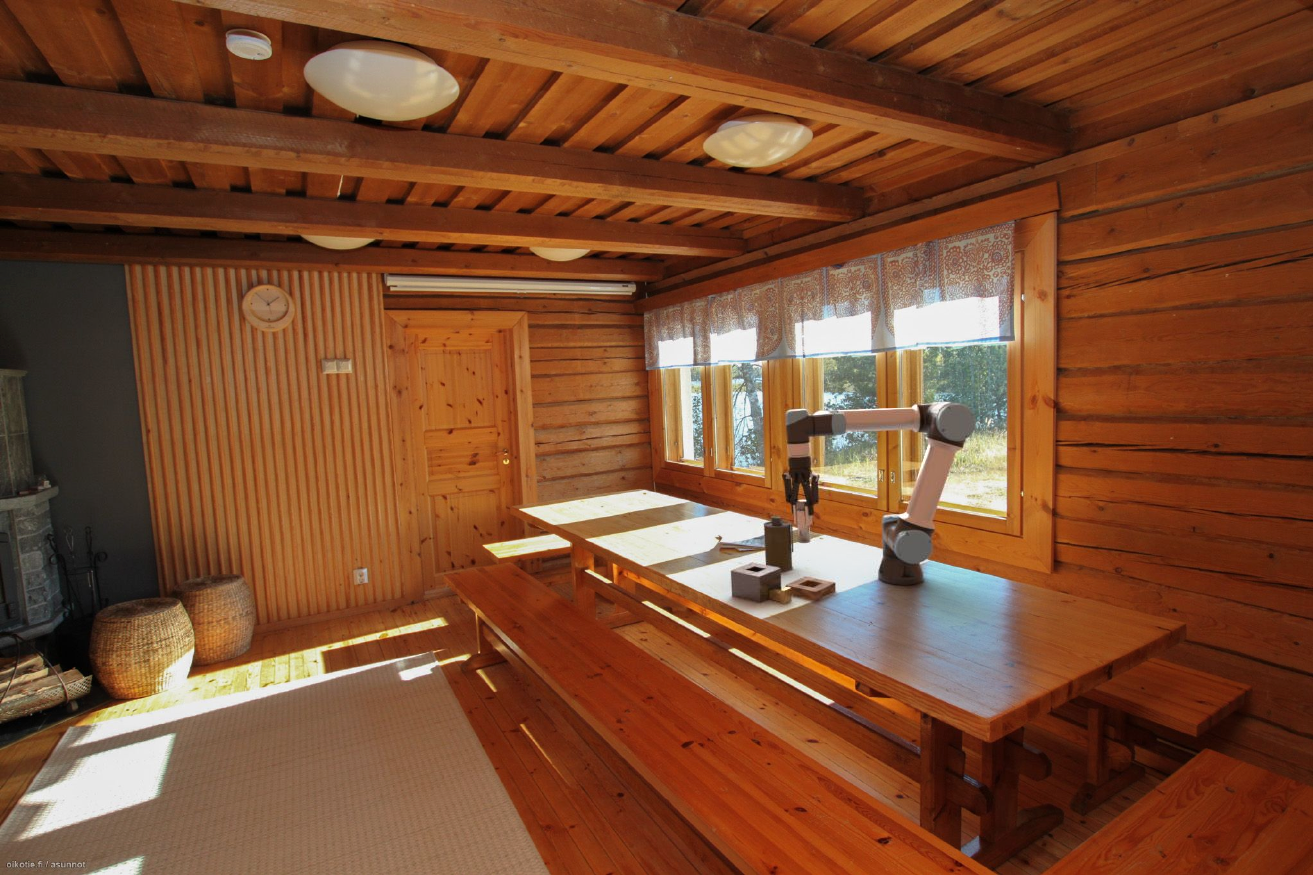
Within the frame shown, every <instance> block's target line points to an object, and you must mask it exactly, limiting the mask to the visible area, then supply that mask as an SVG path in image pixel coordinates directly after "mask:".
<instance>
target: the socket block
mask: <svg viewBox="0 0 1313 875" xmlns="http://www.w3.org/2000/svg"><path fill="white" fill-rule="evenodd" d="M730 581H731V582H730V584H731V586H730V587H731V597H733V598H738V599H742V600H744V601H745V600H746V601H749V602H753V603H758V604H761V603H762V604H763V603H764V602H767V601H768V600H769V599H768V589H770V588H773V589H777V590H781V589H782V572H781V568H778V567H773V566H768V565H766V564H761V563H758V562H750V563H748V564H744V565H742V566H739V567H737V568H734V569H732V570H730Z"/></svg>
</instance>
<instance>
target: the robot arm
mask: <svg viewBox="0 0 1313 875" xmlns="http://www.w3.org/2000/svg"><path fill="white" fill-rule="evenodd" d="M975 428H976V417H975V415H974V412H972V410H971V409H970V408H969V407H967V406H965V405H964V404H962V403H956V402H950V401H938V402H932V403H923V404H914V405H913V406H912V407H901V408H900V407H897V408H894V407H893V408H874V409H873V408H872V409H871V408H870V409H869V408H868V409H866V408H865V409H841V410H838V409H837V410H825V409H821V410H817V411H816V412H814V413H813V414H810V413H809V410H808V409H806V408H798V409H789V410H787V411H786V412H785V433H786V434H785V435H786V448H787V455H788V457H787V463H788V465H787V466H788V468H789V469H788V472H786V473H782V475H781V478H782V479H783V484H784V495H785V503H789V504H790V505H791V513H792V515H793V524H794V525H797V511H796V501H797V500H799V492H800V486H801V487H802V489H803V490H802V491H803V494H804V498H805V500H806V503H807V505H806V506H805V514H806V526H811V525H813V516H814V514H815V512H814V510H815V509H814V506H815V505H817V504H819V502H820V501H819V499H820V498H819V481H820V475H819V474H815V473H813V471H812V468H811V466H812V456H811V455H810V454H811V442H810V441H811V438H815V437H830V436H831V437H832V436H834V437H837V436H843V435H845V434H846V433H847V432H876V431H877V432H878V431H880V432H881V431H913V432H914V433H925V434H926V436H925V439H926V441H927V443H928V445H927V449H926V451H925V455H924V457H923V460H922V463H921V466H920V469H919V472H918V475H917V478H916V481H915V484H914V486H913V490H912V493H911V495H910V499H909V502H908V503H907V504H908V505H907V508H906V511H905V512H904V513H901V514H899V513H896V514H895V513H894V514H893V513H892V514H885V515H883V517H882V519H881V529H882V531H881V532H882V533H881V535H882V537H881V540H882V559H881V560H880V564H879V568H878V569H877V570H878V571H877V573H878V574H877V576H878V577H877V578H878V579H879V580H880V581H881V582H883V583H887V584H891V585H899V586H900V585H901V586H903V585H904V586H905V585H906V586H907V585H908V586H909V585H910V586H911V585H917V584H920V583H922V582H923V581H924V571H923V569H922V565H921V563H922V562H925V561H927V559H929V558H930V556H931V554H932V553H933V550H934V542H933V540H932V538H933V535H934V532H935V529H936V526H935V525H934V523H933V519H934V518H935V514H936V511H937V508H938V505H939V504H940V503H939V502H940V499H941V497H942V494H943V492H944V488H945V485H946V483H947V482H946V481H947V479H948V477H949V473H950V470H951V467H952V465H953V462H954V460H955V456H956V453H957V452H958V451H961V450H962V449H963V448H964V445H965V442H966V439H968V438H969V437H971V436H972V434H973V433H974V431H975Z"/></svg>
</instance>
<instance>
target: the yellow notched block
mask: <svg viewBox="0 0 1313 875" xmlns="http://www.w3.org/2000/svg"><path fill="white" fill-rule="evenodd" d="M768 600H773V601H777V602H780V604H782V605H785V604H788V603H790V602H792V595H791V588H790V587H786V586H785V587H783V588H781V590H777V589H773V588H770V589H768Z"/></svg>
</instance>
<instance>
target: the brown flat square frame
mask: <svg viewBox="0 0 1313 875" xmlns="http://www.w3.org/2000/svg"><path fill="white" fill-rule="evenodd" d="M784 587H785V588H786V587H790V588H791V596H795V597H799V598H804V599H808V600H812V601H815V602H816V601H819V600H821V599H823V598H824V597H827V596H828V595H831V594H833V593H834V592H836V582H834V581H829V580H825V579H819V578H816V577H811V576H802V578H798V579H796V580H793V581H791V582H789V583H787V584H785V586H784Z"/></svg>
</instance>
